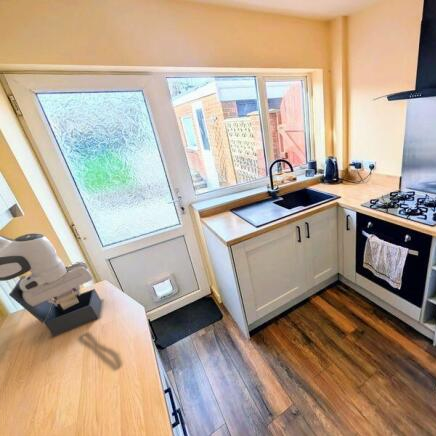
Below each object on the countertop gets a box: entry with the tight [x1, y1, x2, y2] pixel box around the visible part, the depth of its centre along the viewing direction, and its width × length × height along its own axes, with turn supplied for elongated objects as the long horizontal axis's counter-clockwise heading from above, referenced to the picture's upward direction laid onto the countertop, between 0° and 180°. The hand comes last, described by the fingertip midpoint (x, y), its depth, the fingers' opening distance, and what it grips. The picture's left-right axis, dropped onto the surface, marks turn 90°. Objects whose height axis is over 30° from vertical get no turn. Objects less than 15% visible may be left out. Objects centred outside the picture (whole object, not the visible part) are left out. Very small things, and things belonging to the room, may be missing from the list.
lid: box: [8, 275, 53, 324], centre depth 93 cm, size 15×13×1 cm
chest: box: [43, 288, 102, 337], centre depth 102 cm, size 15×13×8 cm
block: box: [56, 289, 79, 310], centre depth 99 cm, size 5×5×5 cm
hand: (68, 300), depth 99 cm, fingers closed on block, 5 cm apart
